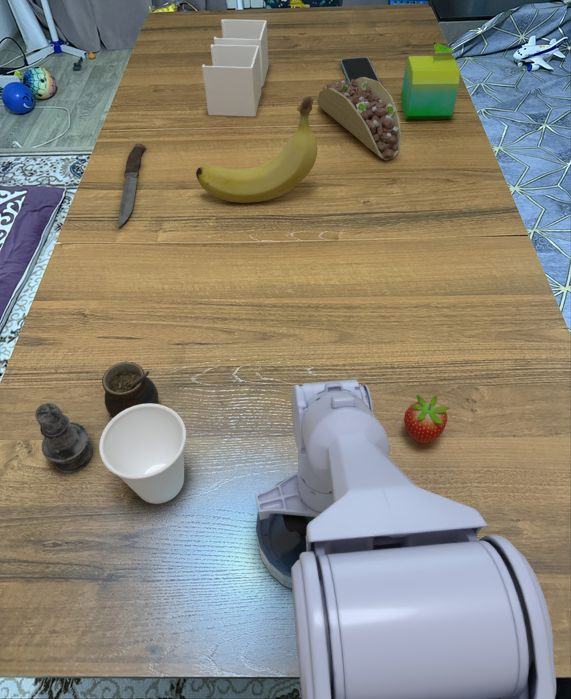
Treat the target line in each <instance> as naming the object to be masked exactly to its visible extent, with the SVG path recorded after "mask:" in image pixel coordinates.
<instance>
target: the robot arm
mask: <svg viewBox="0 0 571 699" xmlns="http://www.w3.org/2000/svg"><path fill="white" fill-rule="evenodd" d="M290 398H291V399H290V400H291V401H290V402H291V417H292V420H291V421H292V429H293V436H294V441H295V445H296V448H297V472H295V473H293V474H292V475H290V476H288V477H289V478H288V477H287V478H285V479H286V480H285V479H283V480H284V481H283V480H281V481H279V482H278V483H277V484H278V485H276V484H275V485H276V486H275V485H274V486H273V487H271V488H269V489H268V490H265V491H263V492H259V493H256V494H254V495H255V496H254V497H255V505H256V509H257V514H258V513H259V518H260V520H262V519H266V518H269V517H270V513H277V514H282V516H283V520H284V524H285V527H286V529H287V530H288V531H289V532H294V531H296V532H298V533H299V534H300V536H301V537H303V536H306V546H307V552H303V553H301V554H300V558H299V560H297V561H296V563H295V564H294V565H293V567H292V568H291V575H292V589H291V590H292V603H293V615H294V618H293V619H294V629H295V642H296V651H297V663H298V672H299V682H300V683H299V684H300V694H301V699H556V695H557V676H556V668H555V658H554V655H555V646H554V633H553V626H552V621H551V616H550V612H549V608H548V605H547V600H546V597H545V595H544V592H543V589H542V587H541V584H540V582H539V579H538V578H537V575H536V573H535V571H534V570H533V567H532V566H531V564H530V563H529V561H528V560H527V558H526V557H525V556H524V555H523V553H521V552H520V551H519V550H518V549H517V548H516V547H515V546H514V545H513V543H512V542H510V541H509V540H508V539H507V538H506V537H504V536H502V535H498V534H489V535H488V534H487V535H484V536H482V537H481V538H479V539H478V534H479V532H480V531H481V530H482V529H483V528H488V524H487V522H486V521H485V519H484V517H483V516H482V515H481V513H480V511H478V510H477V509H476V508H474V507H472V506H469V505H467V504H464V503H461V502H458V501H455V500H453V499H451V498H448V497H445V496H443V495H439V494H437V493H434V492H432V491H429V490H426V489H424V488H421V487H419V486H418V485H417V484H416V483H414V481H413V480H412V479H411V478H409V476H408V475H407V474H405V472H404V471H403V470H402V469H401V468H400V467H399V466H398V465H397V464H396V463H395V462H394V461H393V460H392V459H391V458H390V452H391V451H390V450H391V449H390V448H391V447H390V446H391V445H390V439H389V436H388V433H387V431H386V429H385V428H384V426H383V425H382V424H381V422H380V420H378V418H377V417H376V416H375V414H374V406H373V399H372V395H371V392H370V388H369V387H368V385H367V384H362V383H359V381H358V379H356V378H355V379H354V378H353V379H341V380H329V381H318V382H303V383H301V385H299V384H293V385H292V390H291V395H290ZM307 516H310V517H316V518H314V519H313V520H312V521H311V522H310V523H308V519H307Z"/></svg>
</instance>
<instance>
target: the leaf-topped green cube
mask: <svg viewBox="0 0 571 699" xmlns="http://www.w3.org/2000/svg"><path fill="white" fill-rule="evenodd" d="M433 49H434V55H408V57H407V58H406V61H405V67H404V74H403V80H402V88H401V106H402V110H403V115H404V119H405V120H407V121H408V120H412V121H413V120H450V119H451V118H452V117H453V114H454V110H455V105H456V100H457V96H458V93H459V92H458V91H459V87H460V68H459V66H458V63H457V60H456V58H455V56H454V55H436V54H450V53H451V54H452V53H457V51H456V50H454V49H452V48H450V47H447V46H445V45H442V44H439V43H438V42H435V41H434V42H433Z"/></svg>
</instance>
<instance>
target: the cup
mask: <svg viewBox="0 0 571 699" xmlns="http://www.w3.org/2000/svg"><path fill="white" fill-rule="evenodd" d="M186 443H187V429H186V425H185V422H184V420H183V419H182V417H181V416H180V415H179V414H178V413H177V411H175V410H173V409H172V408H170V407H168V406H166V405H163V404H159V403H158V404H151V403H149V404H140V405H136V406H133V407H130V408H128V409H125V410H124V411H122V412H120V413H119V414H118V415H116V416H115V417H114V418H111V420H109V422H108V423H107V424H106V426H105V427H104V429H103V431H102V433H101V436H100V438H99V445H98V450H99V456H100V458H101V462H102V463H103V465H104V466H105V468H106V469H107V470H109V471H110V472H111V473H112V474H114V475H116V476H117V477H119V479H121V480H122V481H123V482H124V483H125V484H126V485H127V486H128V487H129V488H130V489H131V490H132V491H133V492H135V494H137V496H139V498H141V499H142V500H143V501H145V502H146V503H149V504H155V505H156V504H164V503H167V502H169V501H171V500H173V499H174V498H175V497H177V495H178V494H179V493H180V492H181V490H182V488H183V487H184V483H185V447H186Z"/></svg>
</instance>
